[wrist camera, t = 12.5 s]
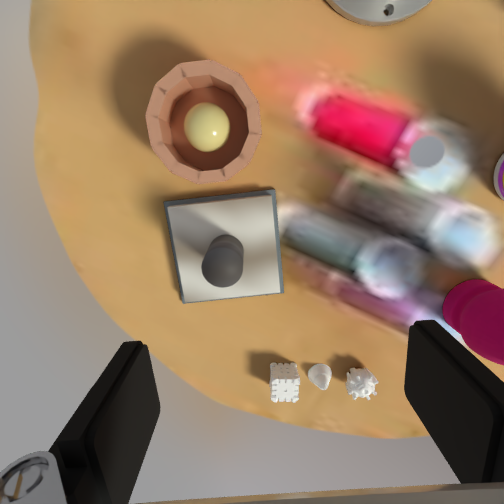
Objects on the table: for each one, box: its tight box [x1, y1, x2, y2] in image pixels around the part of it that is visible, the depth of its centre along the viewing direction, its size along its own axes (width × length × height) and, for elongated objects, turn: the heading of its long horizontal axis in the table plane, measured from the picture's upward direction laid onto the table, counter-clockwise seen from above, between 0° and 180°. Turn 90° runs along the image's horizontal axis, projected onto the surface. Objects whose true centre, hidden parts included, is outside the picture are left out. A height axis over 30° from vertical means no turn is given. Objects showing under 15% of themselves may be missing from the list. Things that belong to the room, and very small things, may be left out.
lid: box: [167, 195, 280, 303], centre depth 29 cm, size 10×10×6 cm
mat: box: [164, 189, 284, 304], centre depth 32 cm, size 11×11×1 cm
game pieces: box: [269, 363, 379, 403], centre depth 35 cm, size 12×3×3 cm, turn 89°
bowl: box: [145, 59, 262, 184], centre depth 26 cm, size 9×9×4 cm
